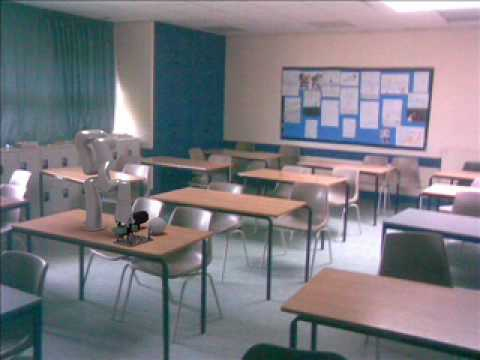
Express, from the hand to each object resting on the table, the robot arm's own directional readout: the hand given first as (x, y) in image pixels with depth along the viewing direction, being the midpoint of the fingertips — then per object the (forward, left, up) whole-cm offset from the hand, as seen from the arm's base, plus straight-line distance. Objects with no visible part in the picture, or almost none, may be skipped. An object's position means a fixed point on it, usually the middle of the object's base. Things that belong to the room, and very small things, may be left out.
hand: (124, 232), depth 313 cm
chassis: (+13, -6, -2) cm, 14 cm away
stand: (0, 0, -2) cm, 2 cm away
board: (0, 0, +1) cm, 1 cm away
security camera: (-5, +15, -2) cm, 16 cm away
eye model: (+12, +15, -2) cm, 19 cm away
